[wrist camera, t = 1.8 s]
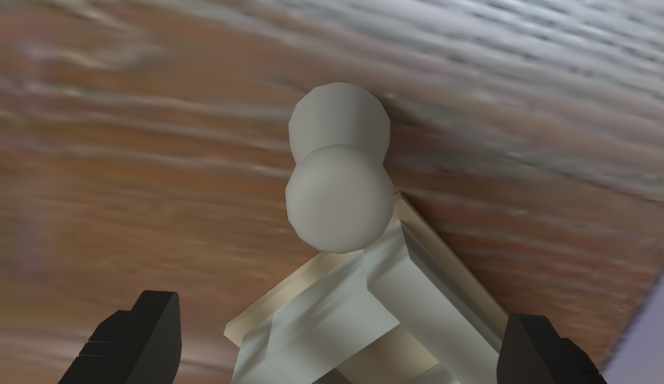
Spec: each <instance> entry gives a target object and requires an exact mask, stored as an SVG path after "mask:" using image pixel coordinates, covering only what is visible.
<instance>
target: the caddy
mask: <svg viewBox="0 0 664 384" xmlns="http://www.w3.org/2000/svg"><path fill="white" fill-rule="evenodd" d="M509 317H510V315H509V314H508V313H507V312H506V311H505V309H504V308H503V307H502V306H501V305H500V304H499V303H498V302H497V300H496V299H495V298H494V297H493V296H492V295H491V294H490V293H489V291H488V290H487V289H486V288H485V287H484V286H483V285H482V284H481V282H480V281H479V280H478V279H477V278H476V277H475V276H474V274H473V273H472V272H471V271H470V270H469V269H468V268H467V267H466V265H465V264H464V263H463V262H462V261H461V260H460V259H459V258H458V256H457V255H456V254H455V253H454V252H453V251H452V250H451V249H450V247H449V246H448V245H447V244H446V243H445V242H444V241H443V240H442V238H441V237H440V236H439V235H438V234H437V233H436V232H435V230H434V229H433V228H432V227H431V226H430V225H429V224H428V223H427V221H426V220H425V219H424V218H423V217H422V216H421V215H420V214H419V212H418V211H417V210H416V209H415V208H414V207H413V206H412V205H411V203H410V202H409V201H408V200H407V199H406V198H405V197H404V195H403V194H402V193H401V192H400V191H399V192H398V193H397V194H395V195H394V210H393V217H392V218H391V220H390V222H389V224H388V226H387V228H386V230H385V232H384V234H383V236H382V237H380V238H379V239H377V240H376V241H375V242H373V243H372V244H370V245H369V246H368V247H366V248H365V249H362V250H358V251H354V252H349V253H345V254H337V253H331V252H326V251H321V252H320V253H318V254H317V255H316V256H315V257H313V258H312V259H311V260H309V261H308V262H307V263H305V264H304V265H303V266H301V267H300V268H299V269H298V270H296V271H295V272H294V273H292V274H291V275H290V276H288V277H287V278H286V279H284V280H283V281H282V282H281V283H279V284H278V285H277V286H275V287H274V288H273V289H271V290H270V291H269V292H268V293H266V294H265V295H264V296H262V297H261V298H260V299H258V300H257V301H256V302H254V303H253V304H252V305H251V306H249V307H248V308H247V309H245V310H244V311H243V312H241V313H240V314H239V315H238V316H236V317H235V318H234V319H232V320H231V321H230V322H228V323H227V325H226V328H225V331H224V335H225V336H226V337H227V338H229V339H230V340H231V341H232V342H233V343H234V344H236V345H237V346H238V347H239V348H240V351H239V355H238V358H237V362H236V366H235V370H234V373H233V377H232V381H231V384H497V377H496V369H497V362H498V358H499V354H500V350H501V346H502V342H503V338H504V334H505V330H506V326H507V322H508V319H509Z"/></svg>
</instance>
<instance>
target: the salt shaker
mask: <svg viewBox="0 0 664 384" xmlns="http://www.w3.org/2000/svg"><path fill="white" fill-rule="evenodd" d="M288 125H289V139H290V148H291V151H292V153H293V156H294V159H295V162H296V167H295V169H294V172H293V174H292V176H291V178H290V180H289V183H288V185H287V187H286V190H285V192H286V204H287V214H288V219H289V221H290V223H291V224H292V226H293V228H294V229H295V231H296V233H297V234H298V236H299V238H300V239H302V240H304V241H305V242H307V243H308V244H310V245H311V246H313V247H315V248H316V249H318V250H320V251H326V252H331V253H337V254H345V253H349V252H354V251H358V250H362V249H365V248H366V247H368V246H369V245H370V244H372V243H373V242H375V241H376V240H377V239H379V238H380V237H382V236H383V234H384V232H385V230H386V228H387V226H388V224H389V222H390V220H391V218H392V217H393V210H394V186H393V184H392V182H391V180H390V178H389V176H388V174H387V172H386V170H385V169H384V167H383V165H382V164H383V161H384V158H385V155H386V152H387V150H388V147H389V144H390V119H389V117H388V115H387V114H386V112H385V110H384V108H383V106H382V104H381V102H380V100H378V99H377V98H376V97H374V96H373V95H372V94H371V93H369V92H368V91H367V90H366V89H364V88H363V87H362V86H358V85H353V84H347V83H341V82H335V83H331V84H327V85H323V86H319V87H315V88H314V89H313V90H312V91H311V92H310V93H308V94H307V95H306V96H305V97H304V98H303V99H302V100H301V101H299V102H298V103H297V105H296V108H295V110H294V112H293V115H292V117H291V119H290V122H289V124H288Z"/></svg>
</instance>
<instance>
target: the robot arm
mask: <svg viewBox="0 0 664 384" xmlns="http://www.w3.org/2000/svg"><path fill="white" fill-rule="evenodd" d="M181 349H182V341H181V324H180V306H179V296H178V293H177V292H167V291H151V290H145V291H143V292H142V294H141V295H140V297H139V298H138V300H137V301H136V303H135V305H134V306H133V308H132V309H131V311H124V310H118V311H117V312H115V313H114V314H112V315H111V316H110V317H108V318H107V319H105V320H104V321H103V322H101V323H100V324H99V325H98V327H97V328H96V330H95V331H94V333H93V334H92V336H91V337H90V338H89V341H88V343H86V344H85V346H84V347H83V348H82V350H81V351H80V353H79V357H76V358H75V360H74V361H73V363H72V364H71V366H70V367H69V368H68V370H67V371H66V373H65V374H64V376H63V377H62V379H61V380H60V381H59V383H58V384H172V383H173V380H174V378H175V375H176V373H177V370H178V367H179V363H180V358H181ZM598 372H599V371H598V369H597V368H596V367H595V365H594V364H593V362H592V361H591V359H590V358H589V356H588V355H587V354H586V353H585V352H584V351H583V350H581V349H580V348H579V347H578V346H577V345H575V344H574V343H573V342H572V341H570V340H569V339H568V338H560V337H559V335H558V334H557V332H556V331H555V329H554V328H553V326H552V324H551V323H550V321H549V320H548V318H547V317H545V316H543V315H526V314H511V315H510V317H509V319H508V322H507V326H506V330H505V334H504V338H503V342H502V346H501V350H500V354H499V358H498V362H497V369H496V377H497V384H607V383H606V381H605V380H604V378H603V377H602V375H600V374H599V373H598Z"/></svg>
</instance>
